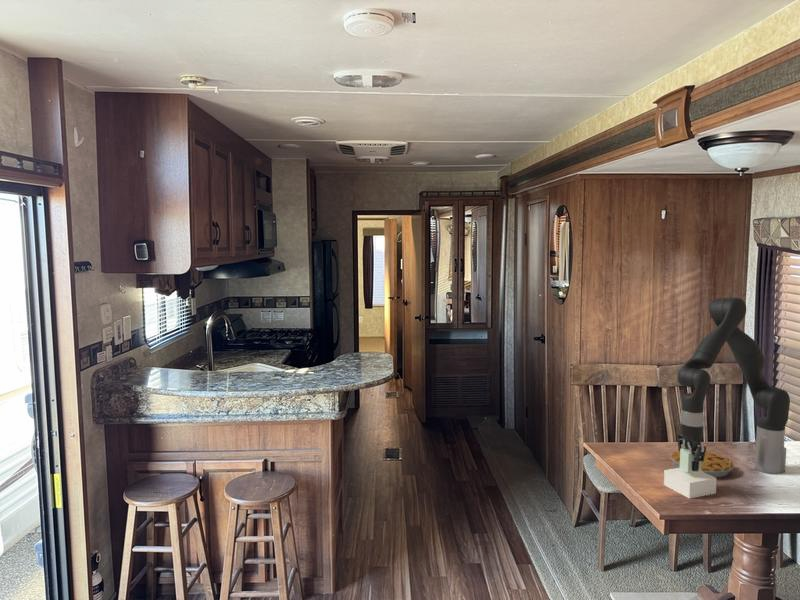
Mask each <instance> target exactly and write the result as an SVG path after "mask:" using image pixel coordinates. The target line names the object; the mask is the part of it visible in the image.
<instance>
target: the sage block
mask: <svg viewBox="0 0 800 600" xmlns="http://www.w3.org/2000/svg"><path fill="white" fill-rule="evenodd" d="M693 452H697V451H693ZM695 458H696V454H695ZM700 458H701V456H700ZM680 467H681V468H682V469H684V470H685V471H687V472H701V461H699V470H698V471H692V455H691V453H690V452H689V449H680Z"/></svg>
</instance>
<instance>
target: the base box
mask: <svg viewBox="0 0 800 600" xmlns="http://www.w3.org/2000/svg"><path fill="white" fill-rule="evenodd" d="M663 472H664V473H663V486H665V487H667V488H669V489H671V490H672V489H673V491H674V492H676V493H679V494H680V495H682V496H684V497H686V498H687V499H694V498H700V497H705V495H706V496H710V494H711V495H714V494H717V478H715V477H713V476H711V475H709V474H707V473H704V472H702V471H701V472H687V471H685V470H684V469H682V468H681V467H680V468H677V467H675V468H669V469H664V471H663Z"/></svg>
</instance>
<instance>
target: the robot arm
mask: <svg viewBox="0 0 800 600" xmlns="http://www.w3.org/2000/svg"><path fill="white" fill-rule="evenodd" d="M708 311H709V315H710V317H711V320H712V321H713V322H714V324H715V326H716V328H715V329H713V330H712V331H710V332H709V334H707V335H706V336H705V337H703V338H702V340H700V342H699V344H698V345H697V347H696V349H695V351H694V353H693V355H692V356H691V357H690V358H689V359H688V360H687V361H686V362H685V363H684V364H683V365H681V367H680V369H679V370H678V372H677V382H678V384H679V385H681V386H683V387H687V388H692V389H694V392H687V393H683V394H682V397H681V412H680V422H679V423H680V425H679V426H680V428H679V433H680V434H677V448H678V450H679V451H680V449H689V452H690V453H691V455H692V471H698V470H699V461H704V457H705V452H706V451H707V447H706V446H705V445H702V444H701V443H702V442H701V438H703V437H704V431H705V430H704V428H705V427H704V426H705V424H704V423H705V417H704V416H705V415H704V406H705V404H704V403H705V398H706V396H707V392H708V389H709V387H710V384H711V375H710V374H709V372H708V371H706V370H704V369H710V368H712V366H713V365H714V363H715V361H716V359H717V357H718V356H719V354H720V352H721V350H722V348H723V346H724V345H725V343H727V345H728V347H729V349H730V351H731V352H732V355H733V357H734V359H735V362H736V363H737V366H738V367H739V368H740V370H741V373H742V375H743V376H744V378H745V380H746V382H747V383H746V384H747V386H748V388H749V391H750V394H751V397H752V399H753V401H754V403H755V405H757V406H758V407H759V408H762V409H765V410H767V415H766V416H761V417H759V418H757V421H756V436H755V437H756V440H755V459H754V468H755V469H756V470H757V471H760V472H762V473H766V474H770V475H771V474H772V475H778V474H782V473H783V472H784V473H785V472H786V463H787V462H786V461H787V448H786V447H785V437H786V436H785V435H786V425H787V424H788V420H789V415H790V414H789V413H790V406H791V400H790V399H791V398H790V395H789V393H788V392H787V391H786V390H784V389H782V388H778V387H777V386H776V387H774V386H772V385H770V384H769V382H768V381H767V380H766V378H765V376H764V368H765V364H766V359H765V356H764V354H763V352H762V350H761V348H760V345H759V344H758V342H757V341H756V340H755V339H753V338H752V337H751V336H750V335H748V334H747V333H745V332H744V331H743V330H742V329H741V328H739V325H740V324H741V322H742V321H743V320H744V318H745V316H746V314H747V304H746V302H745V301H744V300H743V299H742V298H741V297H719V298H713V299H712V300H710V302H709V304H708ZM693 451H697V452H693ZM695 454H696V458H695ZM700 456H701V458H700Z"/></svg>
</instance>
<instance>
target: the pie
mask: <svg viewBox="0 0 800 600" xmlns="http://www.w3.org/2000/svg"><path fill="white" fill-rule="evenodd" d="M670 459H671V461H673V464H674V466H675V468H680V451H679V449H678V450H677V451H674V452H672V454H671V456H670ZM734 467H735V465H734V464H733V461H732V460H730V459H729V457H726V456H725V457H724V456H722V455H721V454H719V453H713V452H712V451H709V450H706V452H705V457H704V461H701V471H702V472H704V473H707V474H709V475H711V476H713V477H715V478H723V477H726V476H728V475H729V473H730V472H731V471H732V470H733V469H734Z"/></svg>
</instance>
